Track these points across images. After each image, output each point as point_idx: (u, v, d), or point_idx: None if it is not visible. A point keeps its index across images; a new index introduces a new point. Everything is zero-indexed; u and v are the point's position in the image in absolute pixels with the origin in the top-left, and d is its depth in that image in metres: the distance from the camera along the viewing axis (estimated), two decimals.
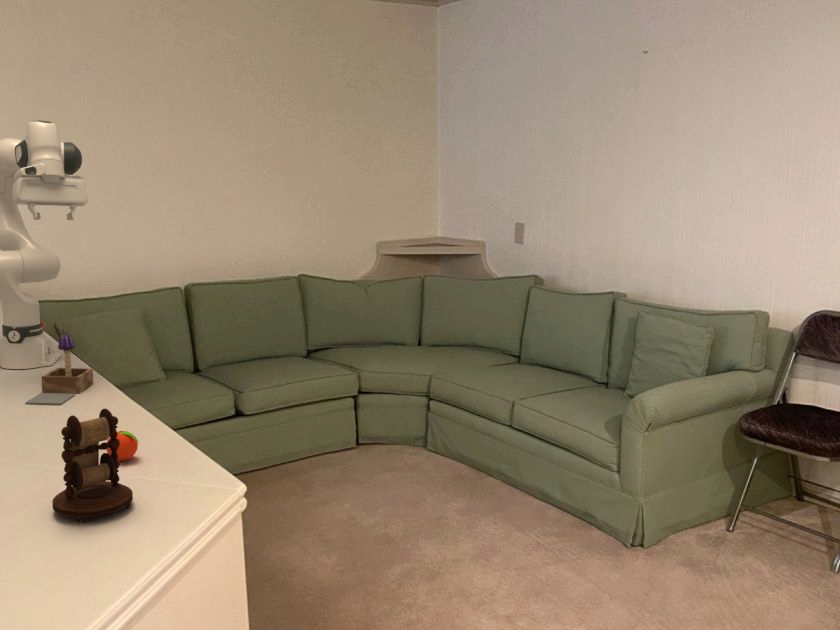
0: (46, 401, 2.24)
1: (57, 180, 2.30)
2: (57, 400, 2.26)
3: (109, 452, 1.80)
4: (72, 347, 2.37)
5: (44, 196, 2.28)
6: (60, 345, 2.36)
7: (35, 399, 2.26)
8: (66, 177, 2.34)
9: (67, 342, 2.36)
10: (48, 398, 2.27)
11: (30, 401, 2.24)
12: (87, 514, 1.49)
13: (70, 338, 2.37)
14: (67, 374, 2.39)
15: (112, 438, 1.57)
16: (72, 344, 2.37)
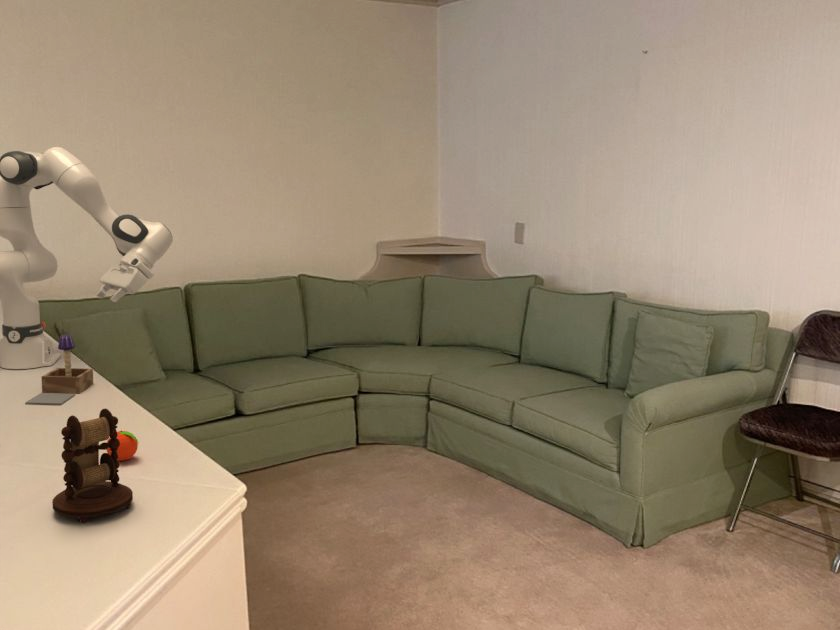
0: (46, 401, 2.24)
1: None
2: (57, 400, 2.26)
3: (109, 452, 1.80)
4: (72, 347, 2.37)
5: None
6: (60, 345, 2.36)
7: (35, 399, 2.26)
8: None
9: (67, 342, 2.36)
10: (48, 398, 2.27)
11: (30, 401, 2.24)
12: (87, 514, 1.49)
13: (70, 338, 2.37)
14: (67, 374, 2.39)
15: (112, 438, 1.57)
16: (72, 344, 2.37)
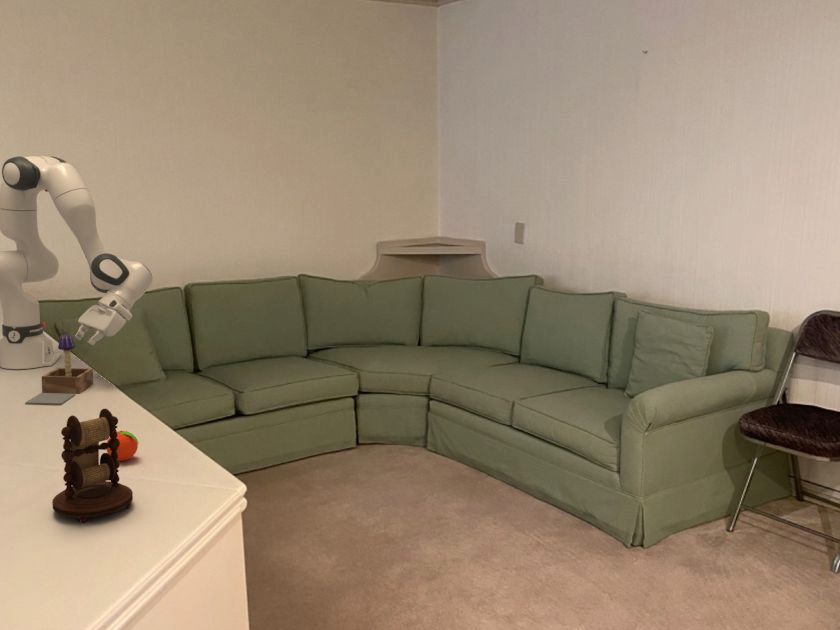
0: (46, 401, 2.24)
1: None
2: (57, 400, 2.26)
3: (109, 452, 1.80)
4: (72, 347, 2.37)
5: None
6: (60, 345, 2.36)
7: (35, 399, 2.26)
8: None
9: (67, 342, 2.36)
10: (48, 398, 2.27)
11: (30, 401, 2.24)
12: (87, 514, 1.49)
13: (70, 338, 2.37)
14: (67, 374, 2.39)
15: (112, 438, 1.57)
16: (72, 344, 2.37)
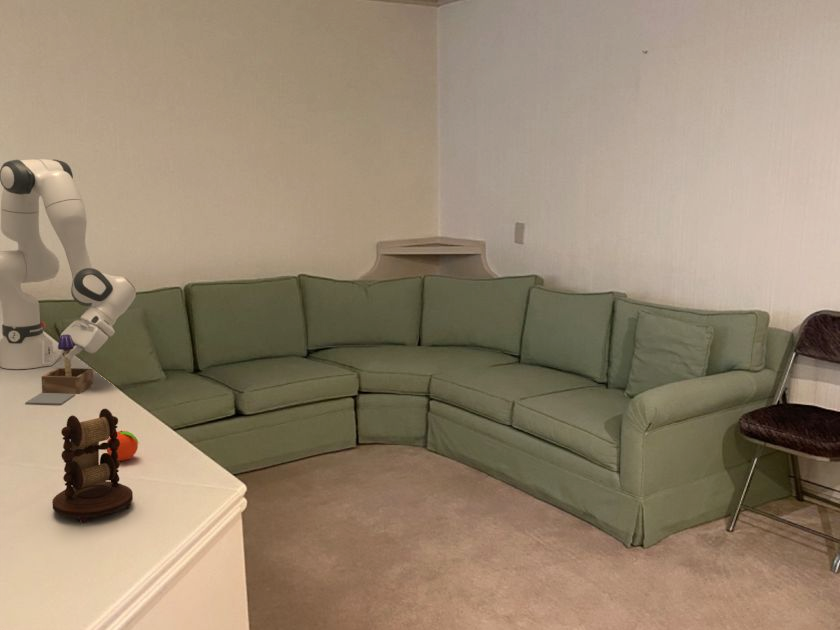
0: (46, 401, 2.24)
1: None
2: (57, 400, 2.26)
3: (109, 452, 1.80)
4: (72, 347, 2.37)
5: None
6: (60, 345, 2.36)
7: (35, 399, 2.26)
8: None
9: (67, 341, 2.36)
10: (48, 398, 2.27)
11: (30, 401, 2.24)
12: (87, 514, 1.49)
13: (70, 338, 2.37)
14: (67, 374, 2.39)
15: (112, 438, 1.57)
16: (72, 344, 2.37)
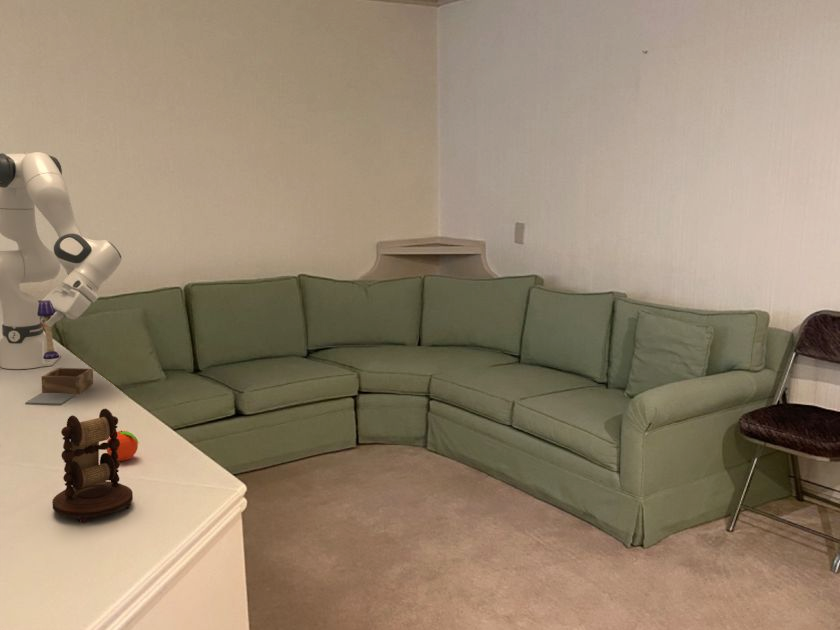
0: (46, 401, 2.24)
1: None
2: (57, 400, 2.26)
3: (109, 452, 1.80)
4: (52, 313, 2.23)
5: None
6: (39, 311, 2.21)
7: (35, 399, 2.26)
8: None
9: (47, 307, 2.22)
10: (48, 398, 2.27)
11: (30, 401, 2.24)
12: (87, 514, 1.49)
13: (50, 304, 2.23)
14: (48, 342, 2.24)
15: (112, 438, 1.57)
16: (52, 310, 2.23)
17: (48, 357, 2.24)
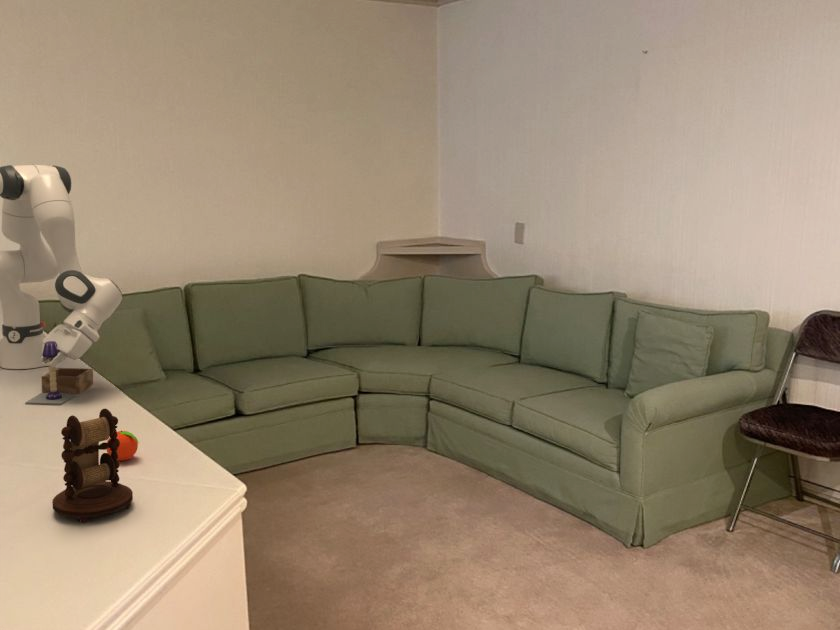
0: (46, 401, 2.24)
1: None
2: (57, 400, 2.26)
3: (109, 452, 1.80)
4: (57, 354, 2.25)
5: None
6: (44, 352, 2.24)
7: (35, 399, 2.26)
8: None
9: (52, 349, 2.24)
10: None
11: (30, 401, 2.24)
12: (87, 514, 1.49)
13: (55, 345, 2.25)
14: (51, 383, 2.26)
15: (112, 438, 1.57)
16: (57, 351, 2.25)
17: (51, 397, 2.26)
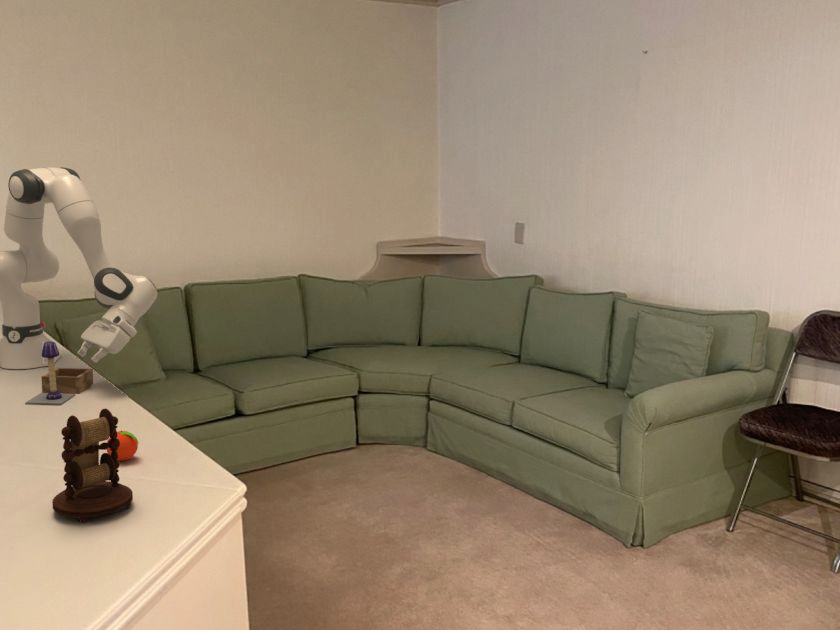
0: (46, 401, 2.24)
1: None
2: (57, 400, 2.26)
3: (109, 452, 1.80)
4: (56, 355, 2.25)
5: None
6: (43, 353, 2.23)
7: (35, 399, 2.26)
8: None
9: (51, 349, 2.23)
10: None
11: (30, 401, 2.24)
12: (87, 514, 1.49)
13: (54, 345, 2.24)
14: (51, 383, 2.26)
15: (112, 438, 1.57)
16: (56, 351, 2.25)
17: (51, 398, 2.26)
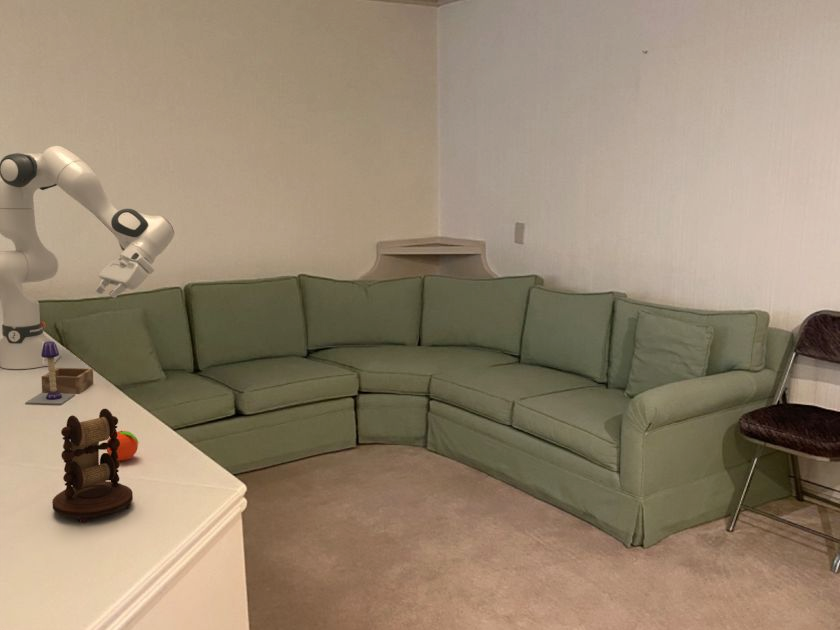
0: (46, 401, 2.24)
1: None
2: (57, 400, 2.26)
3: (109, 452, 1.80)
4: (56, 355, 2.25)
5: None
6: (43, 353, 2.23)
7: (35, 399, 2.26)
8: None
9: (51, 349, 2.24)
10: None
11: (30, 401, 2.24)
12: (87, 514, 1.49)
13: (54, 345, 2.24)
14: (51, 383, 2.26)
15: (112, 438, 1.57)
16: (56, 351, 2.25)
17: (51, 398, 2.26)
